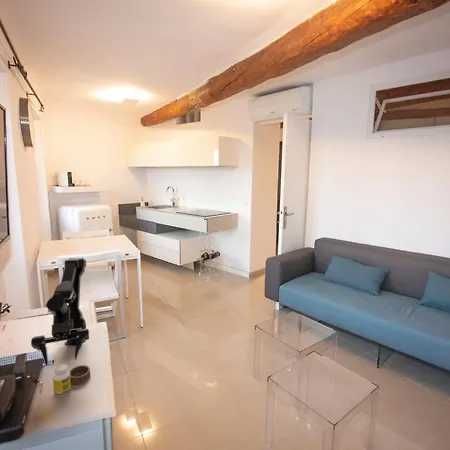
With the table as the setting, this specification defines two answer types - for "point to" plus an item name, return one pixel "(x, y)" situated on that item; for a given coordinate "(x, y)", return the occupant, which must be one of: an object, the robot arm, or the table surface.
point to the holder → (79, 379)
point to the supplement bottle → (61, 380)
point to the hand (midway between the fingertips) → (61, 362)
